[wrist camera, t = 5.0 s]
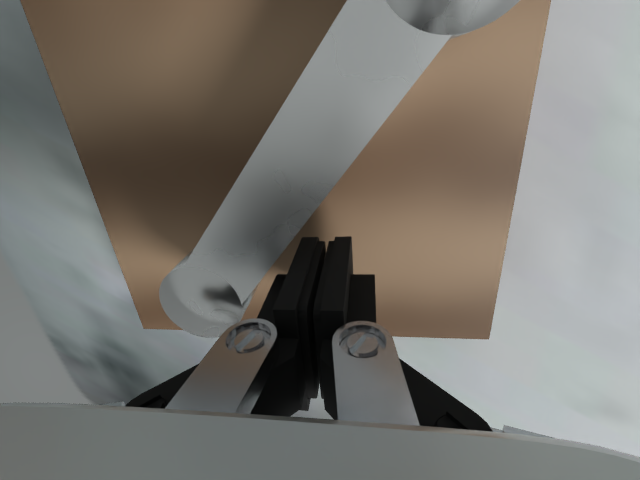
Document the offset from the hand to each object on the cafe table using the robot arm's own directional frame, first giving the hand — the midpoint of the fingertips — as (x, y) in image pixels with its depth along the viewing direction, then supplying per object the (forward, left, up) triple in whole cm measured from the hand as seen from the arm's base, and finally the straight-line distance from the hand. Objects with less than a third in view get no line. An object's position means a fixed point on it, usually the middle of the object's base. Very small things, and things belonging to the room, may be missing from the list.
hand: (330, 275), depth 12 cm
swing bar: (+4, 0, -1) cm, 4 cm away
